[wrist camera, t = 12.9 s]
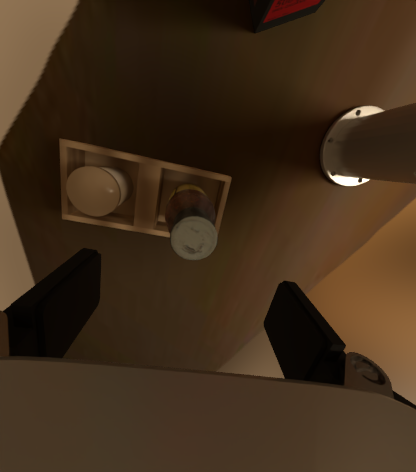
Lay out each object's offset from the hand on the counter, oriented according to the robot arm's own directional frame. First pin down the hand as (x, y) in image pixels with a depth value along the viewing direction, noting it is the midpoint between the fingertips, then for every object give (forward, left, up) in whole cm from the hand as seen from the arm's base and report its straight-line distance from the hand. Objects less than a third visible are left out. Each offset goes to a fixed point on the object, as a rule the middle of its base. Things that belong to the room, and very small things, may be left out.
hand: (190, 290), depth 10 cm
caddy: (+7, 0, -27) cm, 28 cm away
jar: (+13, 0, -26) cm, 29 cm away
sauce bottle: (0, 0, -27) cm, 27 cm away
